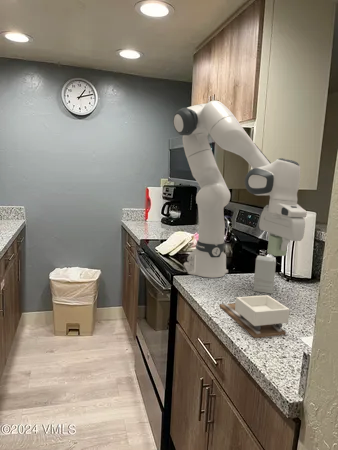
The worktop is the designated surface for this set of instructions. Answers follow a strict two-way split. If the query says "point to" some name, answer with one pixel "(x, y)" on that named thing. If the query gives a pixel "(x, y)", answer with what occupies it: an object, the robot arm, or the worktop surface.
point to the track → (263, 332)
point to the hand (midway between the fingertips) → (277, 248)
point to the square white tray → (262, 310)
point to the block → (275, 246)
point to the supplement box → (264, 274)
